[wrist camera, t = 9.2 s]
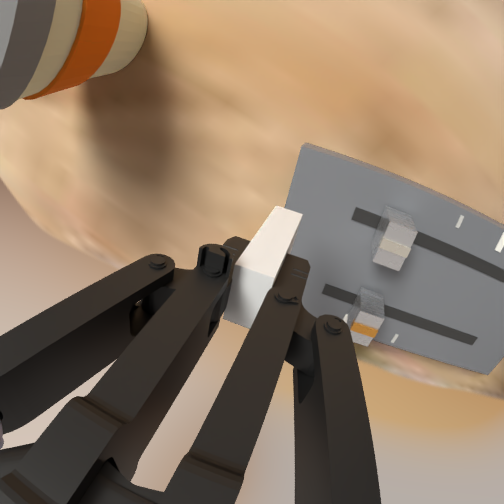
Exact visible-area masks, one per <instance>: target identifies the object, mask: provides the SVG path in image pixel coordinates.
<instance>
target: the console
mask: <svg viewBox="0 0 504 504" xmlns="http://www.w3.org/2000/svg"><path fill="white" fill-rule="evenodd" d="M386 206H389V207H391V208H394V209H396V210H399V211H401V212H404V213H406V214H409V215H411V218H412V220H413V222H414V225H415V227H416V230H417V232H418V233H417V235H416V237H415V239H414V242H413V244H412V246H411V250H410V252H409V254H408V257H407V258H405V260H404V262H403V264H402V266H401V268H400V270H399V271H396V270H394V269H391V268H388V267H386V266H383V265H380V264H378V263H375V262H372V244H371V241H372V239H373V236H374V234H375V231H376V229H377V227H378V224H379V222H380V219H381V217H382V214H383V212H384V209H385V207H386ZM285 209H288V210H291V211H294V212H297V213H300V214H303V215H302V218H301V222H300V225H299V228H298V231H297V234H296V237H295V241H294V244H293V247H292V250H291V253H290V254H291V255H294V256H297V257H300V258H303V259H306V260H308V262H309V264H310V267H311V268H310V271H309V275H308V279H307V282H306V286H305V289H304V293H303V296H302V304H303V306H304V308H305V309H306V310H307V311H308V312H309V313H310V314H312V315H313V316H315V317H316V318H318V317H319V316H321V315H324V314H327V315H334V316H337V317H339V318H340V319H342V320H344V321H345V322H346V324H347V315H348V313H349V311H350V309H351V307H352V305H353V303H354V301H355V299H356V297H357V295H358V293H359V291H360V289H361V287H362V288H365V289H368V290H371V291H374V292H376V293H379V294H382V295H383V299H384V318H385V319H384V321H383V323H382V324H381V326H380V328H379V329H378V333H377V334H376V336H375V337H374V338H373V339H372V340H374V341H377V342H381V343H384V344H387V345H390V346H393V347H396V348H399V349H402V350H405V351H409V352H412V353H415V354H418V355H421V356H425V357H428V358H431V359H434V360H438V361H441V362H444V363H448V364H451V365H454V366H458V367H461V368H465V369H468V370H472V371H475V372H479V373H482V374H486V375H489V373H490V372H491V371H492V370H493V369H494V368H495V367H496V365H497V364H498V363H499V362H500V361H501V359H502V358H503V357H504V225H503V224H501V223H499V222H497V221H495V220H494V219H492V218H490V217H488V216H486V215H484V214H482V213H480V212H478V211H476V210H474V209H472V208H470V207H468V206H466V205H464V204H462V203H460V202H458V201H456V200H454V199H452V198H449V197H447V196H445V195H443V194H441V193H438V192H436V191H434V190H432V189H429V188H427V187H425V186H423V185H420V184H418V183H416V182H413V181H411V180H408V179H406V178H404V177H401V176H399V175H396V174H394V173H391V172H389V171H386V170H383V169H381V168H378V167H376V166H373V165H370V164H368V163H365V162H362V161H359V160H357V159H354V158H351V157H348V156H345V155H342V154H339V153H336V152H333V151H330V150H327V149H324V148H321V147H318V146H315V145H312V144H309V143H305V144H304V145H302V147H301V150H300V154H299V158H298V161H297V165H296V168H295V172H294V176H293V179H292V183H291V187H290V190H289V194H288V197H287V201H286V204H285Z"/></svg>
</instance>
